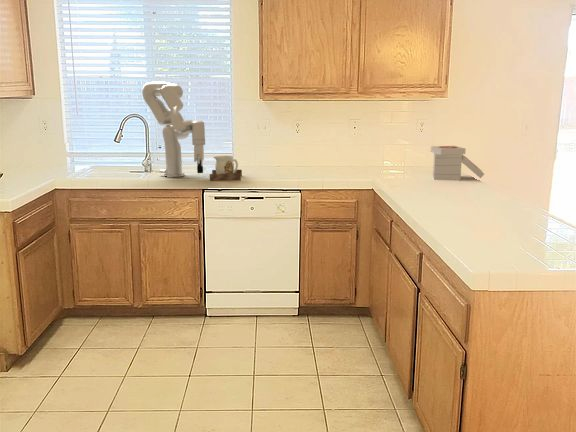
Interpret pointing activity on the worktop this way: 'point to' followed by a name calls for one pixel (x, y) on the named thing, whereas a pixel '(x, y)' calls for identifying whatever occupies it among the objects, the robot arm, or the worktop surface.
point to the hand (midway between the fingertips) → (200, 172)
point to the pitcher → (225, 165)
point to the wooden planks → (226, 176)
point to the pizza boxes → (451, 163)
